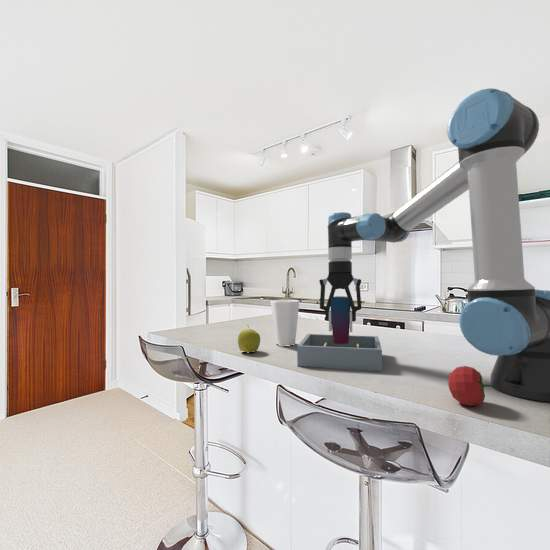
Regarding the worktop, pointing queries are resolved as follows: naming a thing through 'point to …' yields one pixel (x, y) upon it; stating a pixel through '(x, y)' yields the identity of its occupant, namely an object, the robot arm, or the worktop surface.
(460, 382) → the tomato
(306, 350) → the walled box
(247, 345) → the apple
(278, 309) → the cup
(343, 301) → the cup
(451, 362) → the worktop surface
